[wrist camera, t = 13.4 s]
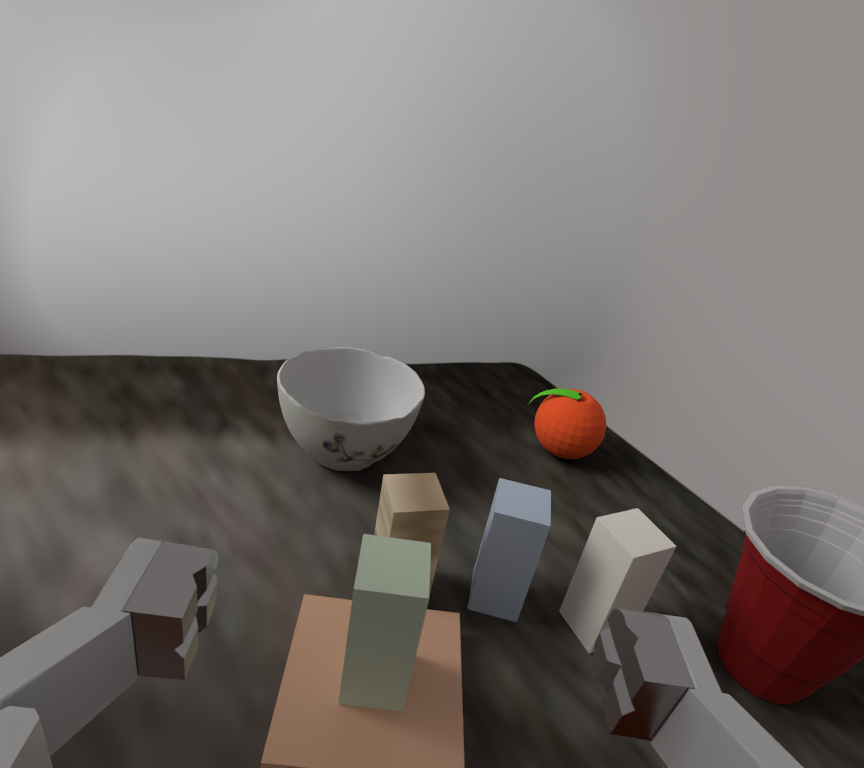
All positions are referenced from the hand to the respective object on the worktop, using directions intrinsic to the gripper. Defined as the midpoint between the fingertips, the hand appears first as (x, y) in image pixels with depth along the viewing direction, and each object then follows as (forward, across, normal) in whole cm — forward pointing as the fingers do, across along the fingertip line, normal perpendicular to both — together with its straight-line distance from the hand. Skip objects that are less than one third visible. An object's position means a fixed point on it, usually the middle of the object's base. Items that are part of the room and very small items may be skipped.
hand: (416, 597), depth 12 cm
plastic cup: (+17, -27, +23) cm, 39 cm away
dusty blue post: (+20, -9, +23) cm, 32 cm away
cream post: (+18, -16, +23) cm, 33 cm away
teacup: (+35, +4, +24) cm, 43 cm away
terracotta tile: (+11, -1, +23) cm, 26 cm away
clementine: (+39, -17, +23) cm, 49 cm away
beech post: (+19, -2, +23) cm, 30 cm away
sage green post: (+11, -1, +21) cm, 24 cm away
